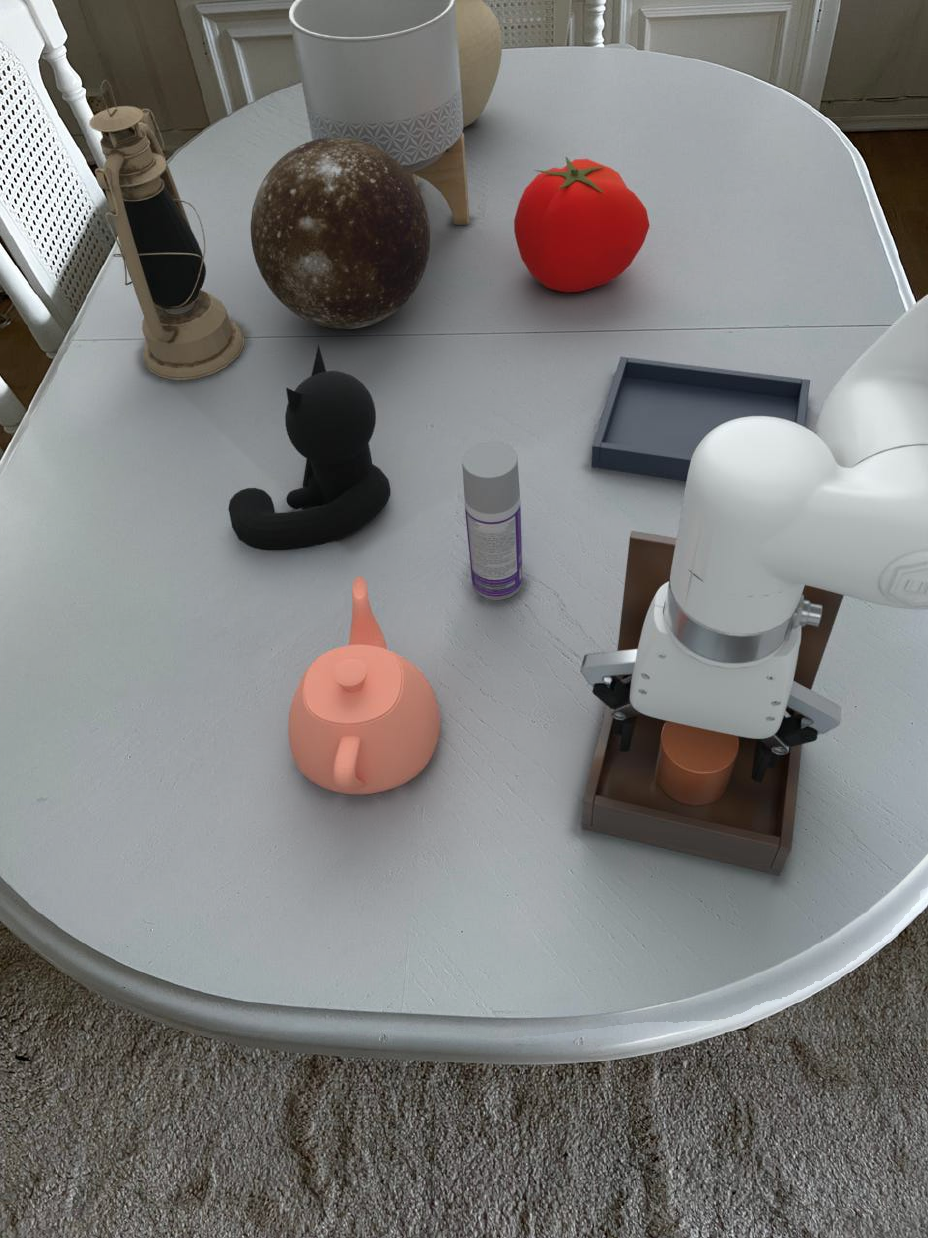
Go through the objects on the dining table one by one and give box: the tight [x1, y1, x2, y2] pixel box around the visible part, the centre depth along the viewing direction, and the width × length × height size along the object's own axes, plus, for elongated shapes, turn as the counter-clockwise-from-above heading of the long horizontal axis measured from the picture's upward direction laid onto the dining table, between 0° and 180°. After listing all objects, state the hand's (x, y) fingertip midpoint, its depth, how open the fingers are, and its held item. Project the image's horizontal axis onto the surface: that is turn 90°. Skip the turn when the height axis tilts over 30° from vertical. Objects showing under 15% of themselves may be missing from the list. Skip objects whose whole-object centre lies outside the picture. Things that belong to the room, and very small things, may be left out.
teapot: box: [288, 576, 441, 795], centre depth 76 cm, size 12×18×10 cm
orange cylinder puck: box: [655, 721, 739, 806], centre depth 73 cm, size 6×6×5 cm
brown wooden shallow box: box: [580, 674, 803, 876], centre depth 74 cm, size 13×15×4 cm
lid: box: [616, 530, 845, 691], centre depth 70 cm, size 13×15×1 cm
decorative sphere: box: [250, 137, 431, 330], centre depth 109 cm, size 20×20×20 cm
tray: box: [590, 356, 811, 482], centre depth 98 cm, size 20×15×3 cm
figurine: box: [227, 344, 391, 552], centre depth 91 cm, size 16×14×15 cm
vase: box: [455, 0, 503, 129], centre depth 135 cm, size 17×17×30 cm
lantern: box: [88, 79, 245, 381], centre depth 103 cm, size 14×12×30 cm
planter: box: [288, 0, 470, 226], centre depth 119 cm, size 19×19×26 cm
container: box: [461, 439, 524, 601], centre depth 83 cm, size 5×5×15 cm
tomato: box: [513, 156, 651, 293], centre depth 113 cm, size 16×14×14 cm
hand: (691, 750), depth 72 cm, fingers open, 9 cm apart
